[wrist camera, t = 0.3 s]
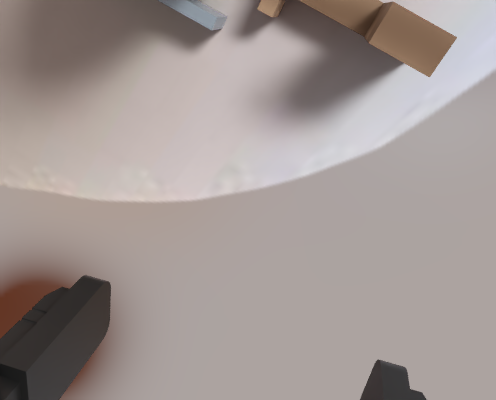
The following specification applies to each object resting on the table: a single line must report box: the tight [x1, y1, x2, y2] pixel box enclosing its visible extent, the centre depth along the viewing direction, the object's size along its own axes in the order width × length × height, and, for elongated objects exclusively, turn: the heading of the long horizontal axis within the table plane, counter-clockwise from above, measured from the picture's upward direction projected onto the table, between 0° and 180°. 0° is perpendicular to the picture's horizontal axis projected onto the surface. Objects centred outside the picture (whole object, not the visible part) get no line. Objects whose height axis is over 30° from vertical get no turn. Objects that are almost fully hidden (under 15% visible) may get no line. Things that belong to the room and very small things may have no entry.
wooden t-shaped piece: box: [257, 0, 457, 77], centre depth 28 cm, size 6×12×9 cm, turn 63°
